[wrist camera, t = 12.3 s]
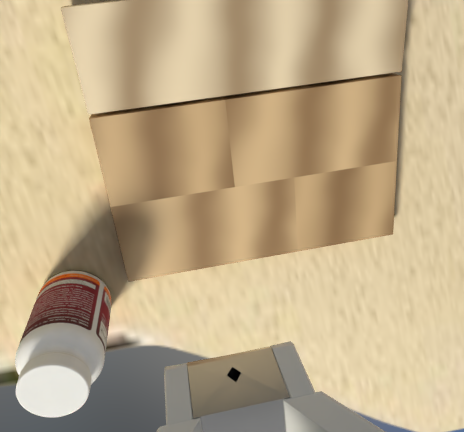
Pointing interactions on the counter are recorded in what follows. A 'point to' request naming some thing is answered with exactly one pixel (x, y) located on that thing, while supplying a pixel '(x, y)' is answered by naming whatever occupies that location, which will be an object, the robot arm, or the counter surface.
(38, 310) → the pill bottle
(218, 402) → the robot arm
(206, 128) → the laid floor
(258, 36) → the plank
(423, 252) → the counter surface
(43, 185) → the counter surface
